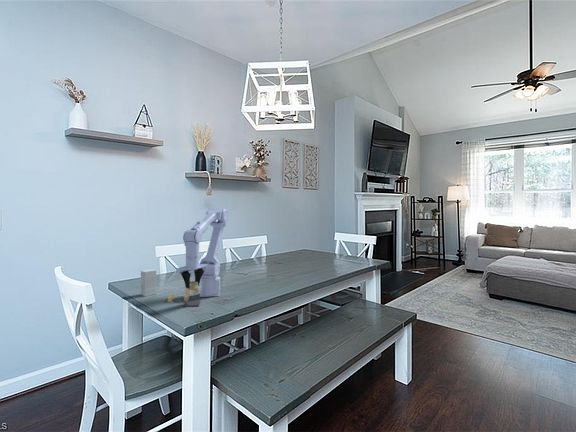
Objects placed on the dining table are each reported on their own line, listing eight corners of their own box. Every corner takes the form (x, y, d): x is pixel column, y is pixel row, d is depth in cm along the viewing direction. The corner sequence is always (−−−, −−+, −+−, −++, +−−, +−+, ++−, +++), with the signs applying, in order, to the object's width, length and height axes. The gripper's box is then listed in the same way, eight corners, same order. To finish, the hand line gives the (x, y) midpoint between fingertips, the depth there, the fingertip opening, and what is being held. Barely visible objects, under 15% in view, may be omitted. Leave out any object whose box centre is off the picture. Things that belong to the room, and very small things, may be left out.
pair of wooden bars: (189, 297, 142) (189, 292, 142) (187, 301, 136) (187, 296, 136) (170, 297, 140) (170, 293, 140) (167, 301, 134) (167, 297, 134)
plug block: (193, 291, 135) (193, 280, 135) (198, 293, 132) (197, 282, 132) (185, 293, 132) (185, 282, 132) (189, 294, 129) (189, 283, 129)
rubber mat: (200, 301, 136) (200, 300, 136) (198, 306, 129) (198, 304, 129) (186, 302, 134) (186, 300, 134) (183, 306, 128) (183, 305, 128)
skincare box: (152, 292, 149) (152, 268, 148) (156, 293, 146) (156, 270, 145) (140, 294, 144) (140, 270, 143) (144, 296, 141) (144, 272, 141)
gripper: (202, 253, 139) (202, 281, 140) (172, 257, 128) (172, 287, 129) (210, 255, 134) (210, 284, 135) (180, 259, 124) (180, 291, 124)
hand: (192, 286), depth 132 cm, fingers closed on plug block, 4 cm apart
